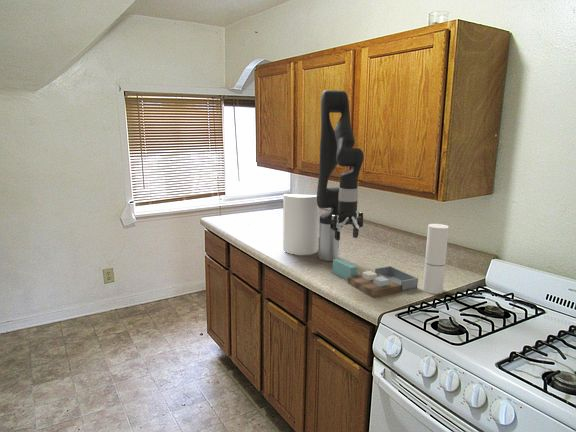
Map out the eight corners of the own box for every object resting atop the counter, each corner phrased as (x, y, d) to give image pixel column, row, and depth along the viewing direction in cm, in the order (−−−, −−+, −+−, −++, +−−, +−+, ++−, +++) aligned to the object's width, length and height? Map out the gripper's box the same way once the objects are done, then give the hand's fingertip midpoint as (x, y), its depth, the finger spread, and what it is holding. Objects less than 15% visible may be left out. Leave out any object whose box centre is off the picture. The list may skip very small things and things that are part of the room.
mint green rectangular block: (332, 273, 175) (333, 259, 173) (339, 271, 176) (339, 258, 175) (350, 282, 164) (350, 268, 163) (357, 280, 166) (357, 266, 165)
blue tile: (373, 282, 157) (373, 277, 156) (381, 281, 158) (381, 276, 158) (380, 286, 153) (380, 281, 153) (388, 284, 155) (388, 279, 154)
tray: (374, 277, 169) (375, 268, 168) (389, 274, 173) (390, 265, 172) (401, 291, 155) (402, 281, 154) (417, 288, 159) (418, 278, 158)
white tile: (362, 277, 163) (362, 272, 162) (370, 275, 165) (370, 270, 164) (368, 280, 159) (368, 275, 159) (376, 278, 161) (376, 273, 161)
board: (347, 282, 163) (347, 276, 163) (374, 277, 169) (374, 272, 168) (373, 297, 149) (373, 291, 149) (400, 291, 155) (401, 285, 154)
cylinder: (315, 256, 197) (316, 198, 191) (279, 253, 200) (280, 196, 194) (319, 246, 213) (321, 192, 207) (287, 244, 216) (287, 191, 211)
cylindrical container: (438, 286, 160) (444, 223, 155) (445, 293, 153) (452, 228, 148) (420, 286, 160) (425, 223, 155) (426, 293, 153) (432, 228, 148)
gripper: (357, 196, 170) (355, 234, 173) (327, 199, 164) (326, 238, 167) (368, 199, 163) (366, 239, 167) (338, 202, 157) (336, 243, 161)
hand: (346, 238), depth 167 cm, fingers open, 8 cm apart
